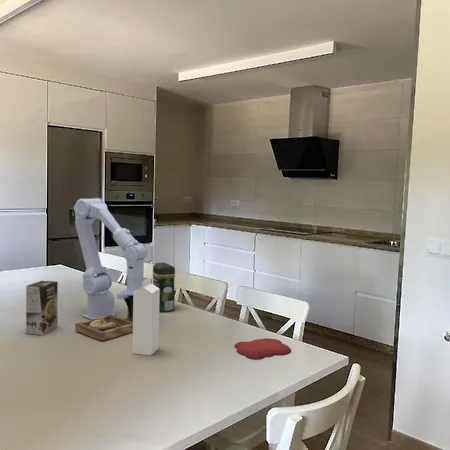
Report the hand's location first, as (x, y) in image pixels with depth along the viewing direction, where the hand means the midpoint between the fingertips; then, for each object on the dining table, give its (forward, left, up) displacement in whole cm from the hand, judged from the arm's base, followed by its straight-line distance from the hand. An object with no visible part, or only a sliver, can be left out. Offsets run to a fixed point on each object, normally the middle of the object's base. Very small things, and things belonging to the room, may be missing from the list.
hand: (134, 315), depth 168 cm
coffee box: (+26, -16, -3) cm, 31 cm away
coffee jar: (-20, -6, -3) cm, 21 cm away
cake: (+14, 0, -3) cm, 14 cm away
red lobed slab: (-11, +48, -4) cm, 49 cm away
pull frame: (+9, 0, -3) cm, 10 cm away
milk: (+15, +23, -3) cm, 28 cm away
